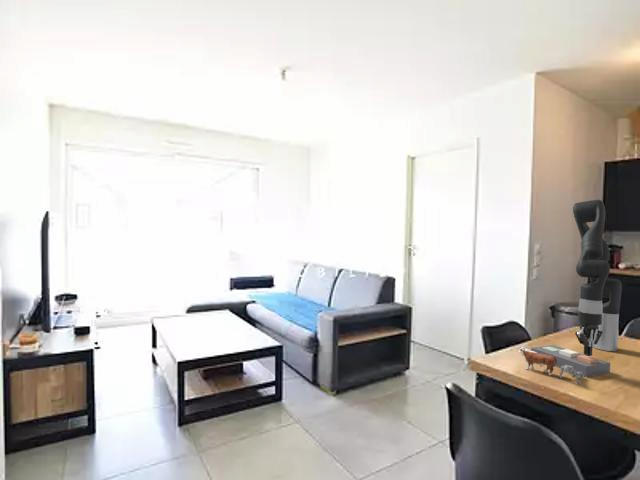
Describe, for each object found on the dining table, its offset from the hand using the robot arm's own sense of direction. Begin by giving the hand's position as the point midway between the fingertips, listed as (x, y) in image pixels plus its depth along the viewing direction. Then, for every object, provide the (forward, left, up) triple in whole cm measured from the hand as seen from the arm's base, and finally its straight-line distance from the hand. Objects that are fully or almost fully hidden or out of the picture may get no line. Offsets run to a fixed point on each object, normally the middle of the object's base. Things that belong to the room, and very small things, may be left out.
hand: (587, 355), depth 146 cm
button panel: (0, -7, -6) cm, 10 cm away
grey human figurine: (+15, +4, -7) cm, 17 cm away
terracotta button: (0, 0, -4) cm, 4 cm away
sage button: (0, -15, -5) cm, 16 cm away
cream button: (0, -7, -4) cm, 8 cm away
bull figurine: (+20, -6, -7) cm, 22 cm away
